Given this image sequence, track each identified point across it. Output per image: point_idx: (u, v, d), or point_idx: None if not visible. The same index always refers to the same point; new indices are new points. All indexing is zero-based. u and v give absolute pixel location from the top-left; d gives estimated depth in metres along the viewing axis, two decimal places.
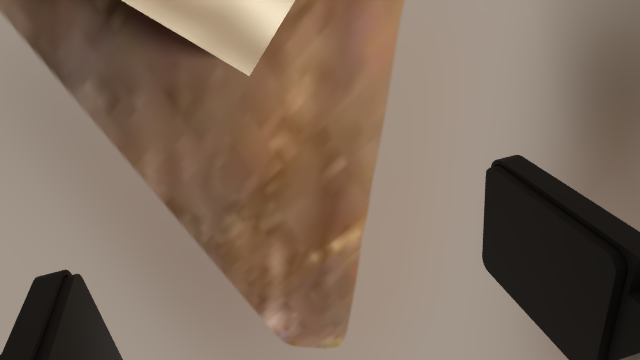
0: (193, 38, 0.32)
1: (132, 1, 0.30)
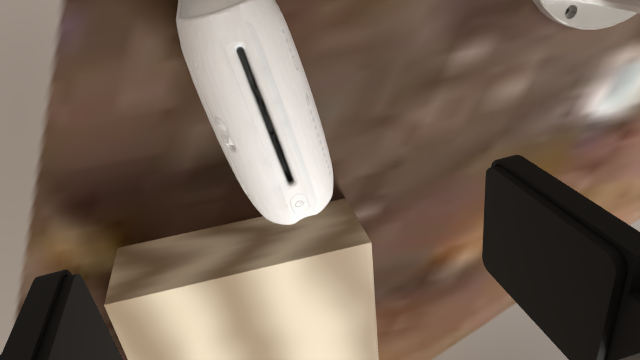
0: None
1: None
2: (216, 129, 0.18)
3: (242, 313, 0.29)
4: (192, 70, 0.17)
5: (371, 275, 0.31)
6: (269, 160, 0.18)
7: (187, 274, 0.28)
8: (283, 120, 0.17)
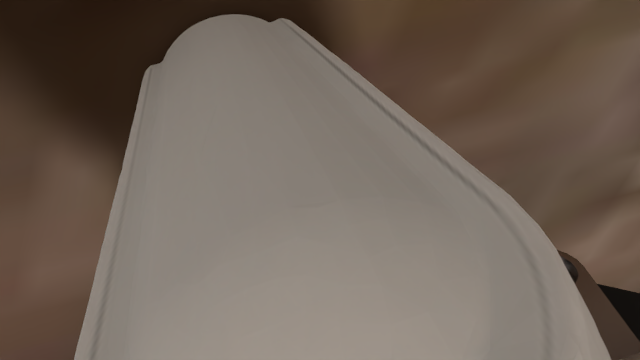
0: None
1: None
2: None
3: None
4: None
5: None
6: None
7: None
8: None
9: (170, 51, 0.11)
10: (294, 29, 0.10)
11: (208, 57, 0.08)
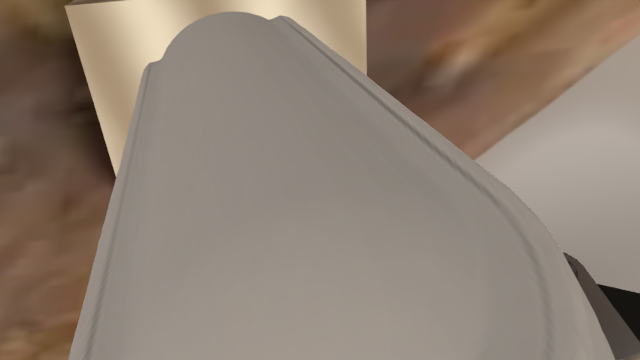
0: None
1: (109, 136, 0.27)
2: None
3: None
4: None
5: (364, 26, 0.28)
6: None
7: None
8: None
9: (169, 48, 0.11)
10: (294, 26, 0.10)
11: (207, 53, 0.08)
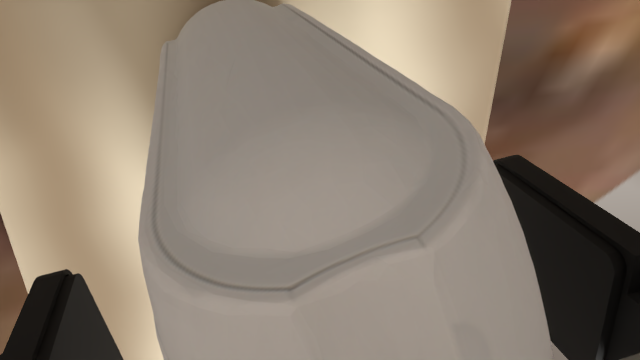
0: None
1: None
2: None
3: None
4: None
5: None
6: None
7: None
8: None
9: (185, 28, 0.12)
10: (295, 11, 0.11)
11: (223, 28, 0.09)
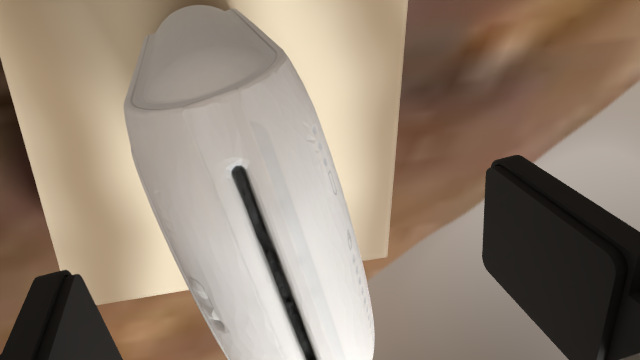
0: (54, 225, 0.20)
1: (29, 131, 0.18)
2: (191, 290, 0.10)
3: None
4: (149, 197, 0.10)
5: None
6: (284, 351, 0.10)
7: None
8: (311, 289, 0.10)
9: (161, 25, 0.17)
10: (236, 12, 0.17)
11: (182, 21, 0.14)
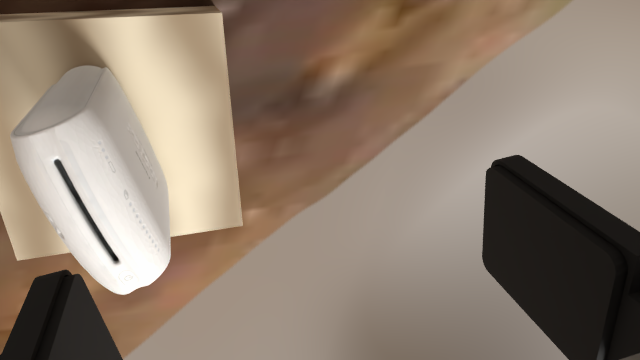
0: (2, 203, 0.32)
1: None
2: None
3: None
4: (23, 174, 0.21)
5: (224, 54, 0.32)
6: (91, 246, 0.21)
7: (32, 19, 0.29)
8: (99, 215, 0.21)
9: None
10: (102, 72, 0.28)
11: (62, 81, 0.26)
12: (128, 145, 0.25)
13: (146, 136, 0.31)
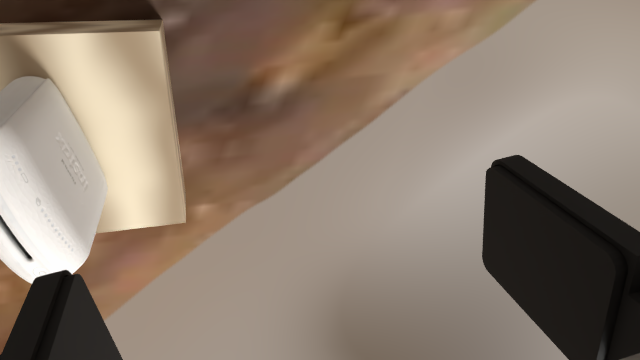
0: None
1: None
2: None
3: None
4: None
5: (162, 68, 0.35)
6: (4, 245, 0.25)
7: None
8: (10, 219, 0.24)
9: None
10: (41, 84, 0.31)
11: (0, 93, 0.29)
12: (52, 155, 0.28)
13: (85, 141, 0.34)
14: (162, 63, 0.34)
